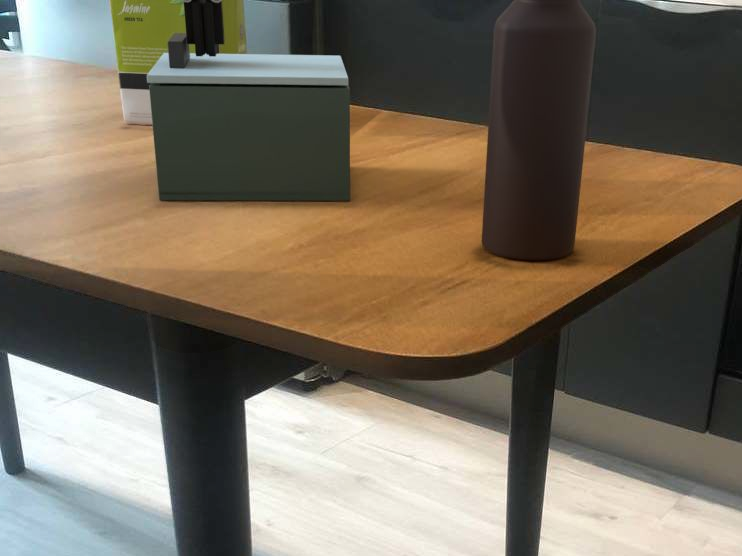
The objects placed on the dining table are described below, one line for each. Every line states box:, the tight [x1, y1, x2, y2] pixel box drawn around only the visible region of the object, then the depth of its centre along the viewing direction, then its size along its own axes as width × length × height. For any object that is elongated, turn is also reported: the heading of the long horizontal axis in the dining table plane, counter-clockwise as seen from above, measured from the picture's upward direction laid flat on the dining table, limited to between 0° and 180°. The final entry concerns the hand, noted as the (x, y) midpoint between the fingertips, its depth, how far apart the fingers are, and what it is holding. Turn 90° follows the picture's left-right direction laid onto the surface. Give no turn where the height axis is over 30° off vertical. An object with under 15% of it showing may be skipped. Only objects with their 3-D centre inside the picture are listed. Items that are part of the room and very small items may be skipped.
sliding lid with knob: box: [147, 33, 349, 86], centre depth 90 cm, size 16×14×3 cm
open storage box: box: [149, 83, 351, 202], centre depth 93 cm, size 16×14×9 cm
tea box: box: [108, 0, 248, 126], centre depth 119 cm, size 15×10×15 cm
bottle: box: [481, 0, 597, 262], centre depth 74 cm, size 7×7×20 cm
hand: (206, 53), depth 90 cm, fingers closed
